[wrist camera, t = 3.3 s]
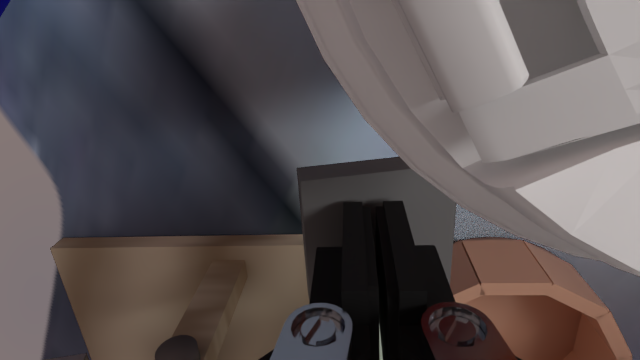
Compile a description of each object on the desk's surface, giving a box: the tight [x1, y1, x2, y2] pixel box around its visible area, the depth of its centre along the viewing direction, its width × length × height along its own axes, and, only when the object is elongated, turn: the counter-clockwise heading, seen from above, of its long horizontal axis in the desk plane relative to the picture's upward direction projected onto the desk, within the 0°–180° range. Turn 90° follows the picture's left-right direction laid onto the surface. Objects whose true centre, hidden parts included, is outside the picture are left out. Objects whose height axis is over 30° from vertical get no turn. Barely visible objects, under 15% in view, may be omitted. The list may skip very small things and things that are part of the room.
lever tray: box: [45, 157, 456, 360], centre depth 15 cm, size 17×15×6 cm
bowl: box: [450, 237, 632, 360], centre depth 20 cm, size 10×10×4 cm
